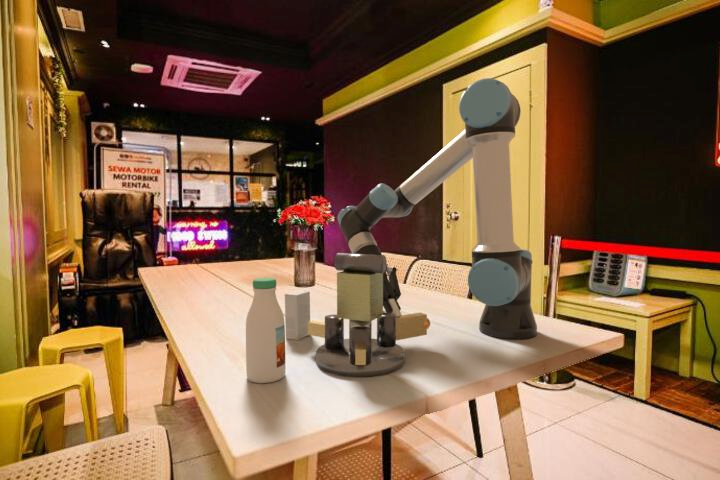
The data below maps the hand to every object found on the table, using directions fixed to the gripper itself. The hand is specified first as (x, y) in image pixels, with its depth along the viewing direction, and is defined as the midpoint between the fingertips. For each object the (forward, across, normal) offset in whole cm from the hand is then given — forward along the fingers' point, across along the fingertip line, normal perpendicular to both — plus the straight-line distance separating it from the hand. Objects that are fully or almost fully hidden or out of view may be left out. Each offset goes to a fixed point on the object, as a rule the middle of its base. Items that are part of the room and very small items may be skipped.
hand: (399, 323), depth 107 cm
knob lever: (+6, +2, +2) cm, 6 cm away
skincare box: (-9, +20, -17) cm, 28 cm away
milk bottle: (+7, +36, -1) cm, 36 cm away
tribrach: (+7, +17, -1) cm, 18 cm away
